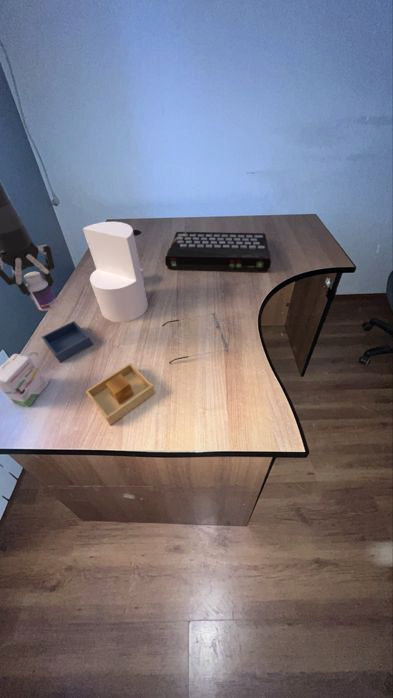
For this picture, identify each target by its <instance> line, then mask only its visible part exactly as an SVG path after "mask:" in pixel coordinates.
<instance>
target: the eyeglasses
mask: <svg viewBox="0 0 393 698" xmlns="http://www.w3.org/2000/svg"><path fill="white" fill-rule="evenodd" d="M211 315H212V316H213V321H214V325H215V327H216V328H219V329H220V331H221V342H222V345H223V347H224V351H228V350H229V346H228V341H227V337H226V336H225V334H224V331H223V328H222V325H221V323H219V318H218V316H217V313H216V312H213V313H210V314H209V316H211ZM199 317H202V315H201V316H200V315H199V316H198V318H199ZM203 317H207V314H206V315H203ZM195 318H196V316H194V317H192V319H195ZM189 319H190V317H188V318H186V320H189ZM182 320H185V318H182V319H181V321H182ZM174 322H180V319H174V320H168V321H167V322H165V323H163V324H162V325H161V326H162V327H165V325H167V324H169V323H174ZM222 351H223V349H221V350H219V352H222ZM216 352H218V350H215V351H214V353H216ZM211 353H213V351H209V354H211ZM206 354H208V352H205V353H203V355H206ZM200 355H201V356H202V353H199V354H198V356H200ZM190 357H192V355H189V356H188V355H187V356H182V357H176V358H173V359H172V360H171V361H169V362H168V364H172V363H173V362H175V361H177V360H182V359H186V358H188V359H189V358H190ZM193 357H197V354H194V355H193Z"/></svg>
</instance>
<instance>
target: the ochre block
mask: <svg viewBox="0 0 393 698" xmlns="http://www.w3.org/2000/svg"><path fill="white" fill-rule="evenodd" d="M106 386H107V388H108V390H109V392H110V394H111V395H112V396H113V398H114V399H115V400H116V401H117V402H118V404H121V403H122V402H124V401H125V400H126V399H128V398H129V397H131V396H132V395H134V394H133V391H132V388H131V386H130V383H129V382H128V381H127V380H126V379H125V378H124V377H123V376H122V375H121V374H120V375H118V376H116V377H115V378H113V379H112V380H110V381H109V382H107V383H106Z"/></svg>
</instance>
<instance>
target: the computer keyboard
mask: <svg viewBox="0 0 393 698" xmlns="http://www.w3.org/2000/svg"><path fill="white" fill-rule="evenodd" d="M271 259H272V258H271V254H270V250H269V246H268V240H267V235H266V233H264V232H222V231H221V232H220V231H219V232H216V231H215V232H214V231H211V232H210V231H176V232H175V234H174V237H173V239H172V242H171V244H170V247H169V248H168V250H167V253H166V255H165V258H164V263H165V266H166V268H167V269H169V270H189V271H191V270H192V271H194V270H195V271H219V272H220V271H221V272H222V271H223V272H252V273H253V272H255V273H257V272H260V273H267V272H268V271H269V270H270V269H271V265H272V260H271Z"/></svg>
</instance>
